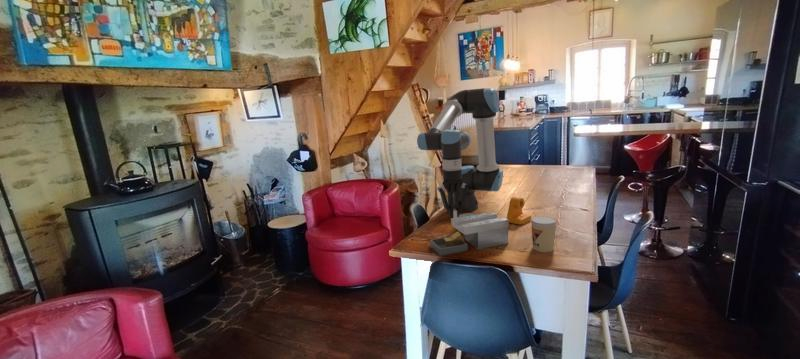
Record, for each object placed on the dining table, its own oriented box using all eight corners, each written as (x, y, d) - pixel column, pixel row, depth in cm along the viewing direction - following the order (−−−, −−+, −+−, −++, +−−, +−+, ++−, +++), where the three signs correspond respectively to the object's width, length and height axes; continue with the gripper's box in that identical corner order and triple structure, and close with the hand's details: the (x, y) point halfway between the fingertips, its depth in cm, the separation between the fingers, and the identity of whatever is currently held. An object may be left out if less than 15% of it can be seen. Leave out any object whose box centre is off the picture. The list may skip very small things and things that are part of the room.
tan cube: (455, 241, 158) (451, 235, 157) (462, 236, 158) (458, 230, 157) (457, 245, 154) (453, 239, 153) (464, 240, 154) (460, 234, 153)
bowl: (467, 235, 168) (467, 222, 167) (452, 228, 178) (452, 216, 177) (487, 230, 173) (487, 217, 172) (471, 223, 183) (471, 211, 182)
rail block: (452, 241, 163) (451, 218, 161) (493, 234, 168) (493, 211, 166) (464, 252, 152) (464, 227, 149) (508, 243, 157) (508, 219, 155)
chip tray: (430, 246, 160) (430, 239, 159) (456, 241, 163) (455, 235, 162) (440, 256, 149) (440, 249, 149) (467, 251, 152) (467, 244, 152)
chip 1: (451, 244, 158) (443, 246, 158) (451, 237, 158) (443, 238, 157) (454, 248, 155) (446, 249, 154) (454, 240, 154) (446, 241, 154)
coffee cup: (526, 245, 154) (527, 217, 152) (548, 242, 155) (549, 215, 152) (536, 254, 145) (537, 224, 143) (560, 251, 146) (561, 222, 143)
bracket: (520, 226, 176) (520, 201, 173) (506, 223, 181) (506, 199, 179) (532, 220, 183) (532, 196, 180) (518, 217, 188) (518, 194, 185)
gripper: (440, 172, 144) (443, 230, 149) (471, 168, 148) (472, 225, 153) (433, 169, 151) (436, 224, 156) (462, 165, 155) (464, 219, 160)
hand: (454, 225), depth 155 cm, fingers closed
